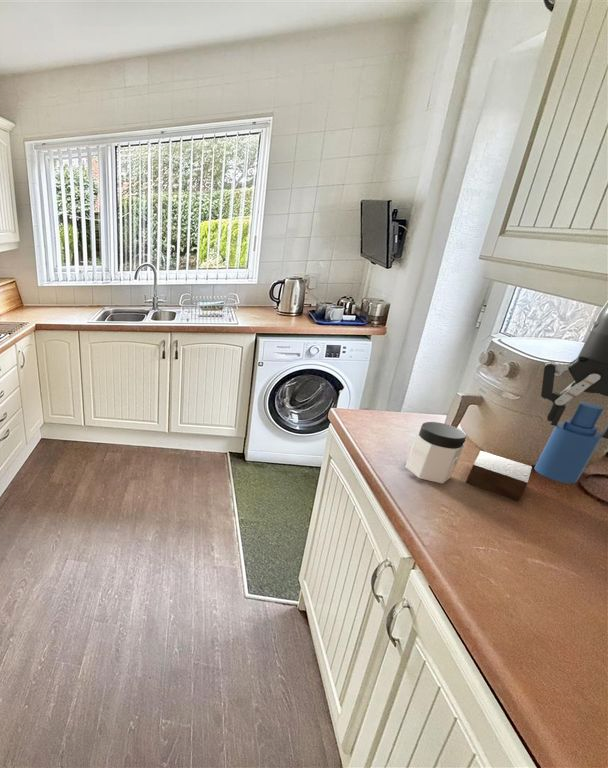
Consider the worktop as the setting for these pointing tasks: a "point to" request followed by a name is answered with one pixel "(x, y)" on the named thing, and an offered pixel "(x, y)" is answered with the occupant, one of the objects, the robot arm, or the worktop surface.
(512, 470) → the block
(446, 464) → the jar
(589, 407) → the bottle
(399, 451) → the worktop surface
